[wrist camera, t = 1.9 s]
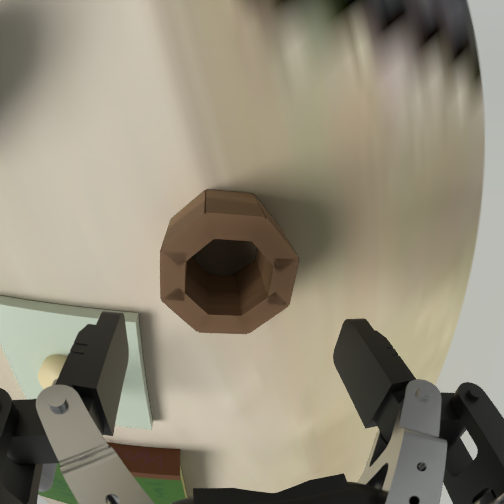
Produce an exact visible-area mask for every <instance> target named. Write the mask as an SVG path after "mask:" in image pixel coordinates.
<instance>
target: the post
mask: <svg viewBox="0 0 504 504" xmlns="http://www.w3.org/2000/svg"><path fill="white" fill-rule="evenodd" d="M102 311H107V312H118V313H123V314H124V317H125V324H126V332H127V340H128V347H129V359H128V365H127V370H126V374H125V378H124V383H123V387H122V392H121V397H120V402H119V407H118V412H117V417H116V422H115V426H122V427H130V428H138V429H148V430H152V424H153V419H152V414H151V408H150V402H149V396H148V390H147V383H146V376H145V369H144V362H143V354H142V345H141V336H140V326H139V314H138V313H134V312H123V311H112V310H102V309H93V308H84V307H75V306H67V305H59V304H52V303H44V302H37V301H30V300H24V299H17V298H11V297H5V296H0V343H1V346H2V348H3V351H4V353H5V355H6V358H7V360H8V362H9V364H10V367H11V369H12V371H13V373H14V375H15V377H16V379H17V381H18V383H19V385H20V387H21V389H22V391H23V393H24V395H25V397H26V399H27V400H28V399H37V397H38V395H39V394H40V393H41V391H43V390H44V389H45V388H47V387H49V386H52V385H55V384H56V382H57V379H58V377H59V375H60V372H61V370H62V368H63V365H64V363H65V361H66V358H67V356H68V354H69V353H70V349H71V347H72V345H74V341H75V339H76V337H77V334H78V332H79V331H81V330H82V329H83V328H84V327H85V326H86V325H87V324H94V325H96V324H97V321H98V319H99V317H100V315H101V313H102ZM56 467H57V463H50V464H43V467H42V473H41V478H40V484H39V490H38V491H40V492H44V491H47V490H49V489H50V488H51V487H52V484H53V480H54V475H55V471H56Z"/></svg>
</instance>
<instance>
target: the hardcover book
mask: <svg viewBox="0 0 504 504" xmlns="http://www.w3.org/2000/svg"><path fill="white" fill-rule="evenodd" d="M107 444H108V445H109V446H111V447H112V448H113V449H114V451H115V452H116V453H117V455H118V456H119V458H120V459H121V460H122V462H123V463H124V465H125V466H126V467H127V469H128V470H129V472H130V473H131V474H132V476H133V477H134V478H135V480H136V481H137V482H138V483H139V485H140V486H141V487H142V489H143V490H144V491H145V492H146V494H147V495H148V496H149V497H150V498H151V500H152V501H153V502H154V503H155V504H170V503H173V502H175V501H178V500H181V499H184V498H188V497H187V493H186V488H185V484H184V479H183V475H182V470H181V465H180V449H167V448H152V447H141V446H131V445H122V444H115V443H108V442H107ZM59 466H60V463H57V467H56V471H55V475H54V480H53V484H52V487H51V488H50V489H49V490H47V491H44V492H40V491H38V494H39V495H41V496H44V497H47V498H51V499H54V500H57V501H61V502H64V503H68V504H79V503H78V502H77V500H76V498H75V496H74V495H73V493H72V491H71V489H70V488H69V486H68V484H67V482H66V480H65V478H64V476H63V474H62V472H61V470H60V467H59Z"/></svg>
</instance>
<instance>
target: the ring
mask: <svg viewBox="0 0 504 504" xmlns="http://www.w3.org/2000/svg"><path fill="white" fill-rule="evenodd" d="M213 239H225V240H240V241H252V242H253V243H254V245H255V246H256V247H257V254H256V259H255V260H254V261H253V262H251V263H250V264H249V265H247V266H246V267H245V268H243V269H242V270H241V271H239V272H238V273H237V274H235V275H221V274H207V273H206V272H205V271H204V270H203V269H202V268H201V267H200V266H199V265H198V264H197V263H196V262H195V261H194V260H193V259H192V258H191V257H192V256H193V255H195V254H196V253H197V252H198V251H199V250H201V249H202V248H203V247H204V246H206V245H207V244H208V243H209V242H211V241H212V240H213ZM298 263H299V257H298V256H297V254H296V252H295V251H294V249H293V248H292V246H291V244H290V243H289V241H288V239H287V238H286V236H285V235H284V233H283V231H282V230H281V228H280V227H279V225H278V224H277V223H276V221H275V220H274V219H273V218H272V216H271V215H270V214H269V213H268V211H267V210H266V209H265V208H264V207H263V205H262V204H261V203H260V202H259V200H258V199H257V198H256V197H255V195H254V194H252V193H243V192H232V191H219V190H206V191H205V190H204V191H203V192H202V193H201V194H200V195H198V196H197V197H196V198H195V199H194V200H192V201H191V202H190V203H189V204H188V205H187V206H185V207H184V208H183V209H182V210H181V211H180V212H178V213H177V214H176V215H175V216H174V217H173V218H171V220H170V223H169V226H168V229H167V232H166V235H165V238H164V241H163V244H162V247H161V250H160V293H161V299H162V300H161V301H162V302H163V303H165V304H166V305H167V306H168V307H169V308H170V309H171V310H172V311H174V312H175V313H176V314H177V315H178V316H179V317H180V318H182V319H183V320H184V321H185V322H186V323H187V324H189V325H190V326H191V327H192V328H193V329H194V330H196V331H199V332H202V333H229V334H247V333H250V332H252V331H253V330H255V329H256V328H258V327H259V326H261V325H262V324H264V323H265V322H266V321H268V320H269V319H271V318H272V317H274V316H275V315H277V314H278V313H279V312H281V311H282V310H284V309H285V308H287V307H288V305H290V300H291V296H292V291H293V287H294V282H295V277H296V273H297V268H298Z"/></svg>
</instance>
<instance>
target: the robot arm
mask: <svg viewBox="0 0 504 504" xmlns="http://www.w3.org/2000/svg"><path fill="white" fill-rule="evenodd" d="M128 359H129V347H128V340H127V332H126V324H125V317H124V314H123V313H118V312H107V311H102V313H101V315H100V317H99V319H98V321H97V324H96V325H94V324H87V325H86V326H85V327H84V328H83V329H82V330H81V331H79V332H78V334H77V337H76V339H75V341H74V345H72V347H71V349H70V353H69V354H68V356H67V358H66V361H65V363H64V365H63V368H62V370H61V372H60V375H59V377H58V379H57V382H56V384H55V385H52V386H49V387H47V388H45V389H44V390H43V391H41V393H40V394H39V395H38V397H37V399H28V400H12V399H11V397H10V395H9V394H8V393H7V392H6V391H5V390H3V389H1V388H0V504H37V496H38V490H39V484H40V478H41V473H42V467H43V464H50V463H60V466H59V467H60V470H61V472H62V474H63V476H64V478H65V480H66V482H67V484H68V486H69V488H70V489H71V491H72V493H73V495H74V496H75V498H76V500H77V502H78V503H79V504H155V503H154V502H153V501H152V500H151V498H150V497H149V496H148V495H147V494H146V492H145V491H144V490H143V489H142V487H141V486H140V485H139V483H138V482H137V481H136V480H135V478H134V477H133V476H132V474H131V473H130V472H129V470H128V469H127V467H126V466H125V465H124V463H123V462H122V460H121V459H120V458H119V456H118V455H117V453H116V452H115V451H114V449H113V448H112V447H111V446H109V445H108V444H107V442H106V441H105V439H104V437H103V435H109V436H113V433H114V427H115V422H116V417H117V412H118V407H119V402H120V397H121V392H122V387H123V383H124V378H125V374H126V370H127V365H128ZM333 360H334V364H335V367H336V369H337V371H338V373H339V375H340V377H341V379H342V381H343V383H344V385H345V387H346V389H347V391H348V393H349V395H350V397H351V399H352V401H353V403H354V405H355V408H356V410H357V412H358V414H359V416H360V418H361V420H362V422H363V424H364V426H365V428H370V427H374V426H378V428H379V431H378V432H377V434H376V436H375V439H374V443H373V446H372V449H371V452H370V455H369V458H368V461H367V464H366V467H365V469H364V472H363V474H362V476H361V478H360V479H359V481H358V482H357V483H355V482H347V480H346V478H345V475H344V474H339V475H334V476H329V477H324V478H319V479H313V480H309V481H307V482H304V483H302V484H299V485H297V486H294V487H291V488H289V489H286V490H283V491H281V492H278V493H265V492H256V491H249V490H242V489H236V488H193V494H194V497H189V498H184V499H181V500H178V501H175V502H173V503H170V504H439V503H440V497H441V492H442V485H443V483H444V485H445V487H446V489H447V491H448V493H449V496H450V498H451V500H452V502H453V504H504V418H503V417H502V416H501V414H500V413H499V411H498V410H497V408H496V407H495V406H494V404H493V403H492V401H491V400H490V399H489V397H488V396H487V395H486V393H485V392H484V391H483V389H481V388H480V387H479V386H477V385H475V384H473V383H469V382H466V383H463V384H461V385H460V386H459V387H458V389H457V390H456V392H455V393H440V391H439V390H438V388H437V387H436V386H435V385H433V384H432V383H430V382H428V381H426V380H421V379H416V378H415V377H414V376H413V374H412V373H411V371H410V370H409V369H408V367H407V366H406V364H405V363H404V362H403V360H402V359H401V357H400V356H398V353H397V352H396V351H395V349H393V346H392V345H391V344H390V342H389V341H388V340H387V338H386V337H384V336H383V335H382V334H380V333H379V332H378V331H374V329H373V328H372V327H371V325H370V324H369V323H368V321H367V320H366V319H346V320H345V321H344V323H343V325H342V328H341V331H340V334H339V337H338V340H337V343H336V346H335V349H334V354H333ZM466 430H467V431H468V432H469V434H470V436H471V437H472V439H473V440H474V442H475V444H476V446H477V449H478V454H477V457H476V458H475V459H474V460H472V458H471V456H470V454H469V452H468V451H467V449H466V447H465V445H464V444H463V442H462V440H461V438H460V437H461V436H462V434H463V433H464V432H465V431H466Z"/></svg>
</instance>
